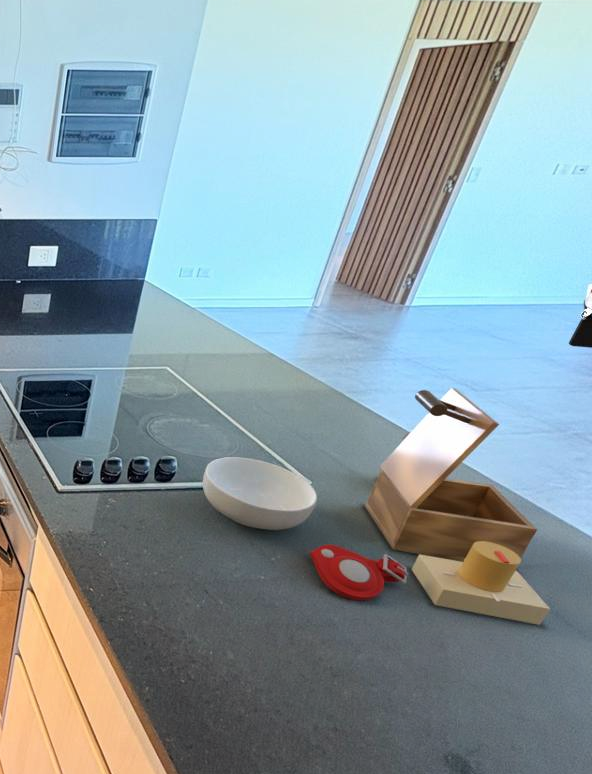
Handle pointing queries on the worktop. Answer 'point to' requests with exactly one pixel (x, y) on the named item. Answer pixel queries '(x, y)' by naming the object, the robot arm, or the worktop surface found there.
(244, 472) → the cereal bowl
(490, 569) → the lock knob
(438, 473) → the hinged box cover
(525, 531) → the chest
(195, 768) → the worktop surface
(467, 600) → the lock plate
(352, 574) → the tracker holder
